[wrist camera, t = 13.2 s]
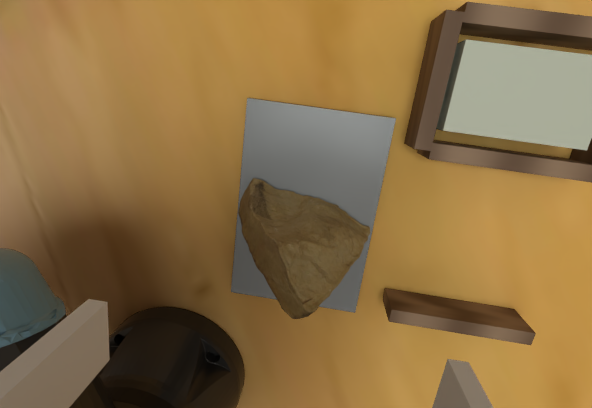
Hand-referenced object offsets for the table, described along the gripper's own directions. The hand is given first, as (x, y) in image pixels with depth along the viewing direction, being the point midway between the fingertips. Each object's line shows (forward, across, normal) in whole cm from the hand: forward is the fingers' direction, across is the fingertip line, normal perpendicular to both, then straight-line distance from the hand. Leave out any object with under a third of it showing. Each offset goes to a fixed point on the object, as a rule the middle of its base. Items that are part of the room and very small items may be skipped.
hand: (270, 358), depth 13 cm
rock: (+18, 0, 0) cm, 18 cm away
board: (+19, 0, 0) cm, 19 cm away
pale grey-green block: (+19, +14, +12) cm, 26 cm away
